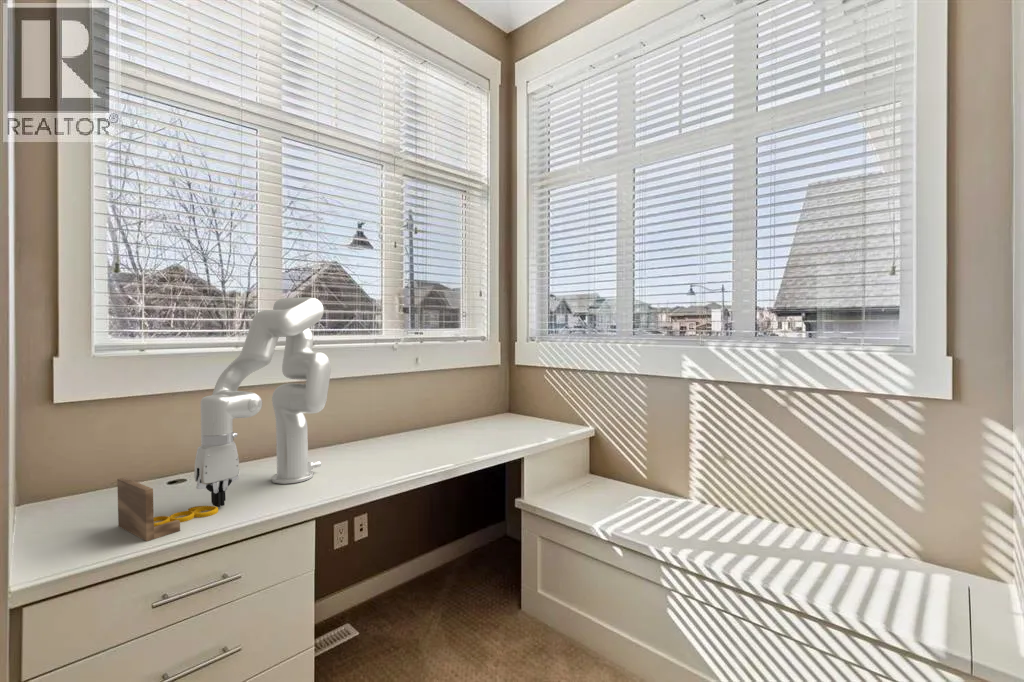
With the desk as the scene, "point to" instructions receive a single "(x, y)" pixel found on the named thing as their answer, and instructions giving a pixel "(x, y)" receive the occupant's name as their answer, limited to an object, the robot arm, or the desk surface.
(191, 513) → the yellow triple ring ornament
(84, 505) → the desk surface
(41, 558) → the desk surface
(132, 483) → the display stand
